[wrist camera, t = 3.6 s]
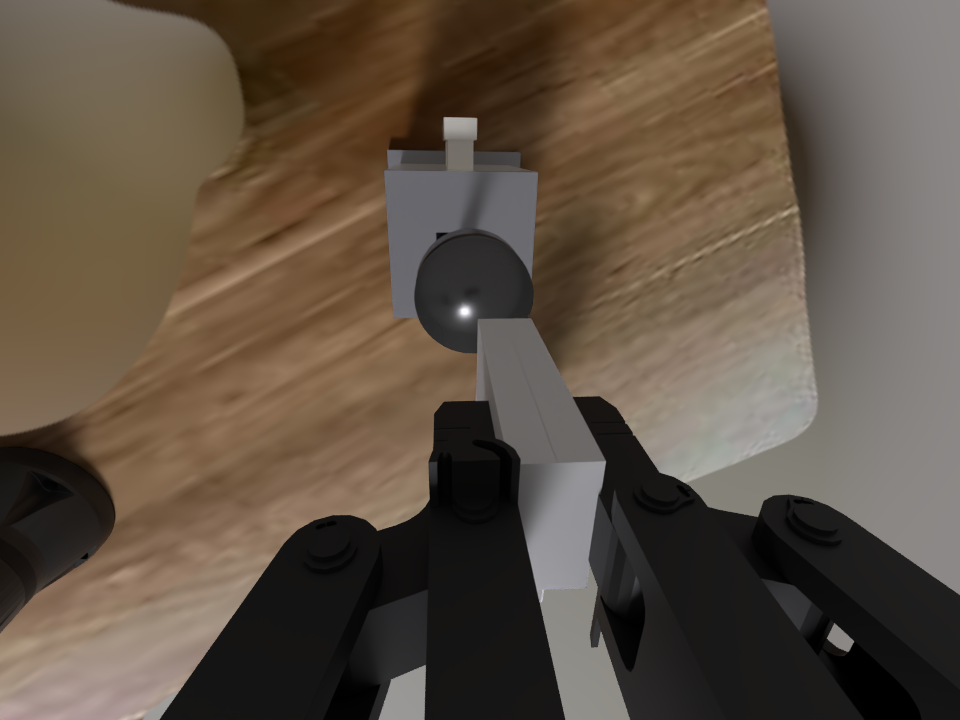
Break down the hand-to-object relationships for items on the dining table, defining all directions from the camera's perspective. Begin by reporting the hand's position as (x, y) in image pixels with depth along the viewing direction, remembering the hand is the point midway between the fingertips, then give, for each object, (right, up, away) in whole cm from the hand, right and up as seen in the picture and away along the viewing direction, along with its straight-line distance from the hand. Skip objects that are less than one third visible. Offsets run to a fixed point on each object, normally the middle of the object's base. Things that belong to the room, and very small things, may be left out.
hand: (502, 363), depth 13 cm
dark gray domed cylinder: (-2, +8, +19) cm, 21 cm away
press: (-3, +13, +28) cm, 31 cm away
